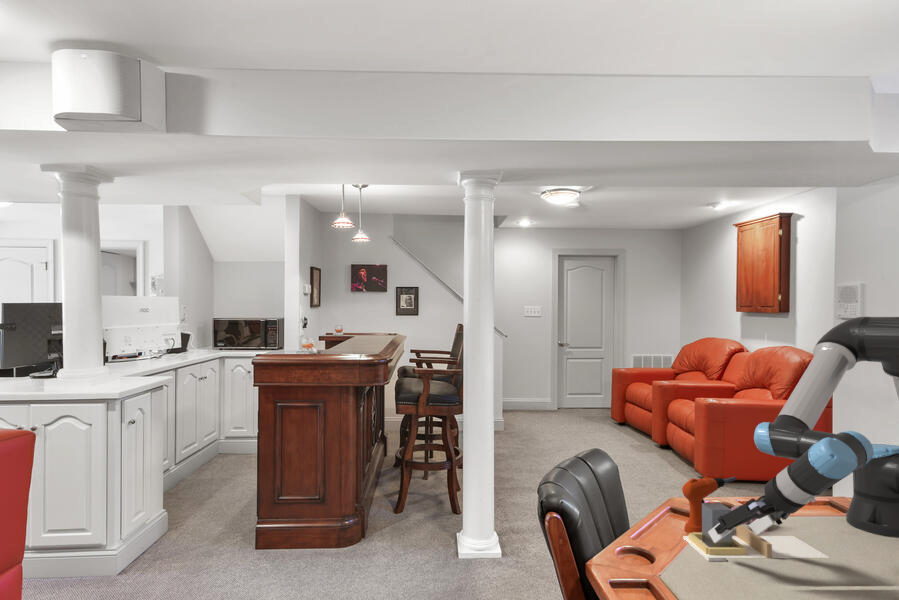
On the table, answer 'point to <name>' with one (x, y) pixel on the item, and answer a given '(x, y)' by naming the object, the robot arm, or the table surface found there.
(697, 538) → the plate
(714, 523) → the grey metal block
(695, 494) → the toy drill
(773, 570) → the table surface
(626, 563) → the table surface
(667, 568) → the table surface
